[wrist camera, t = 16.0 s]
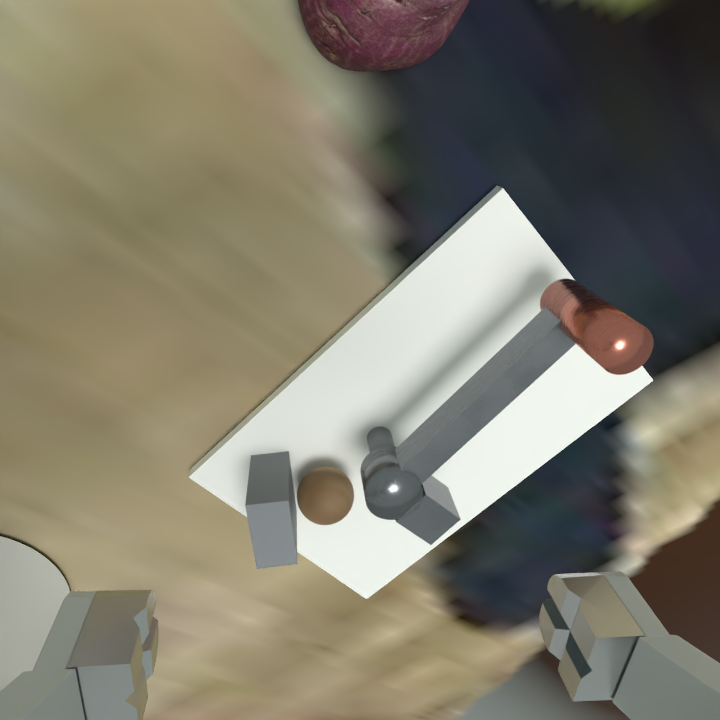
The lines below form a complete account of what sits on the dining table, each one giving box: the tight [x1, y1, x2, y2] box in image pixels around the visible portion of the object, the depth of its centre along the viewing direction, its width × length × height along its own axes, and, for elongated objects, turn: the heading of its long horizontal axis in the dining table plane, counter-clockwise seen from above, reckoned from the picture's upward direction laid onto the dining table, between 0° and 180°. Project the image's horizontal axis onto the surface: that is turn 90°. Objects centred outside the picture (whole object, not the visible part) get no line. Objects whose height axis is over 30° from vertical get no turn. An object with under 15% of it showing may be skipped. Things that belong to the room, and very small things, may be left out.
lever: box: [360, 279, 653, 545], centre depth 36 cm, size 20×7×8 cm, turn 137°
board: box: [189, 186, 653, 599], centre depth 43 cm, size 32×21×7 cm, turn 133°
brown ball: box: [297, 466, 354, 525], centre depth 44 cm, size 4×4×4 cm
